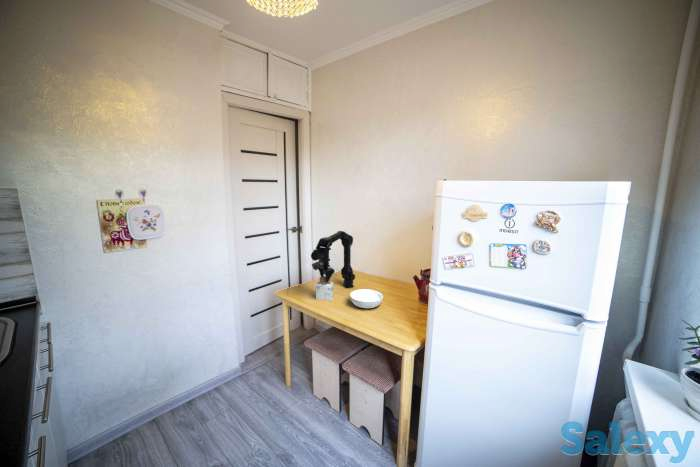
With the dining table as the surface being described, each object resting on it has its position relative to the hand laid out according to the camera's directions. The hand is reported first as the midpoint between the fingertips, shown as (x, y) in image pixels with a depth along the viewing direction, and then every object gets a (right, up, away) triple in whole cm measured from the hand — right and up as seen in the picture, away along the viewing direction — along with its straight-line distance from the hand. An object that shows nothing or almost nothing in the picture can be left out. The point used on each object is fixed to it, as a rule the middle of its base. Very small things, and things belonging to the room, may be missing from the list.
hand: (324, 280), depth 183 cm
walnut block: (0, -2, 0) cm, 2 cm away
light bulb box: (0, -13, +2) cm, 13 cm away
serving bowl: (+27, -15, -7) cm, 32 cm away
